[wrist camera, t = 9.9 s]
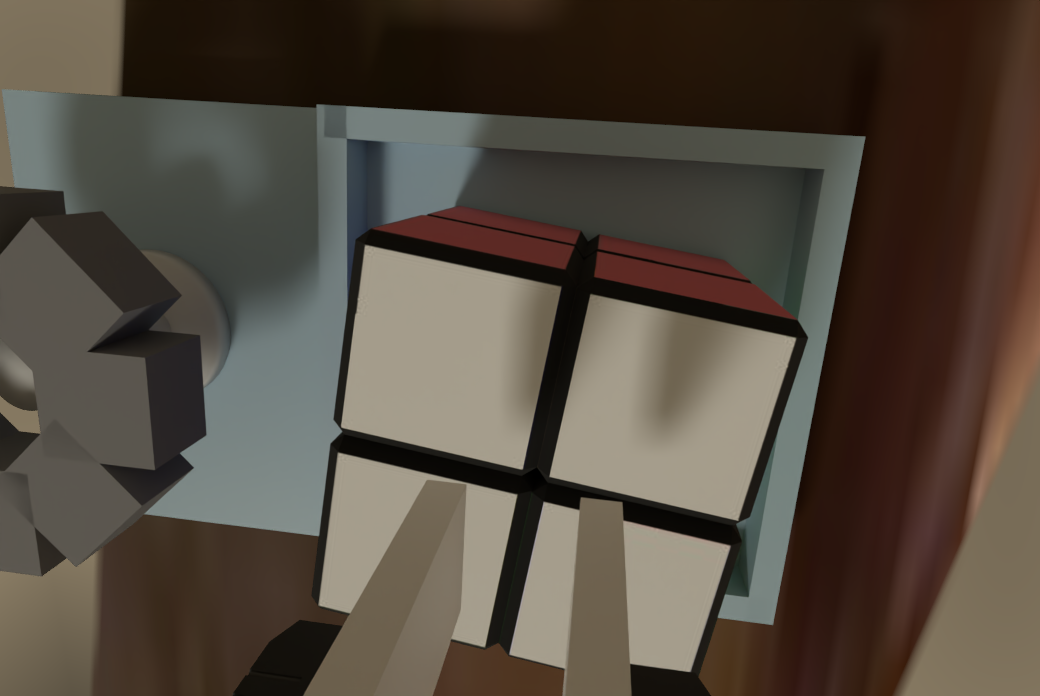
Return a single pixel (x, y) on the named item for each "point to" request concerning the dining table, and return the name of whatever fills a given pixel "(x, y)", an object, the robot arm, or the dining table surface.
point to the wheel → (87, 383)
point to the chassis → (397, 196)
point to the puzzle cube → (553, 421)
